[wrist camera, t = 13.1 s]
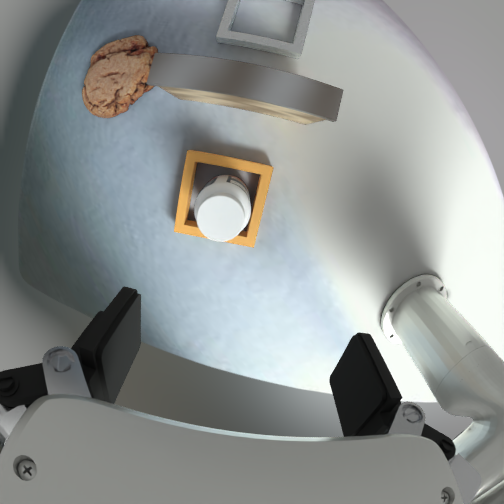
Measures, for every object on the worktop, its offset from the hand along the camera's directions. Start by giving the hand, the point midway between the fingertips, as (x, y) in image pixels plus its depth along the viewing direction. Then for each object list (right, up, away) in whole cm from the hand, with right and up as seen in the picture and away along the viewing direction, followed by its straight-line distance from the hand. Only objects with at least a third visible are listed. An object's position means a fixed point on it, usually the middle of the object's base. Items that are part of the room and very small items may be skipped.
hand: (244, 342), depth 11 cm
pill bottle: (-3, +10, +20) cm, 22 cm away
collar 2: (-3, +10, +19) cm, 22 cm away
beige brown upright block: (-1, +20, +15) cm, 25 cm away
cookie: (-15, +24, +14) cm, 31 cm away
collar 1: (+2, +30, +11) cm, 32 cm away
